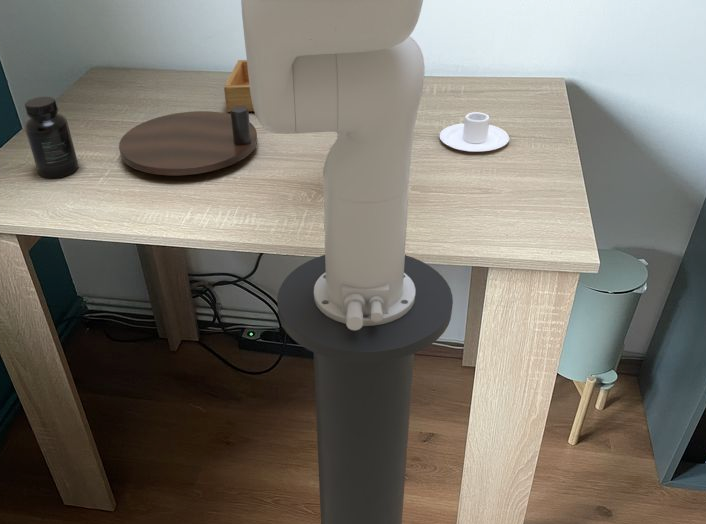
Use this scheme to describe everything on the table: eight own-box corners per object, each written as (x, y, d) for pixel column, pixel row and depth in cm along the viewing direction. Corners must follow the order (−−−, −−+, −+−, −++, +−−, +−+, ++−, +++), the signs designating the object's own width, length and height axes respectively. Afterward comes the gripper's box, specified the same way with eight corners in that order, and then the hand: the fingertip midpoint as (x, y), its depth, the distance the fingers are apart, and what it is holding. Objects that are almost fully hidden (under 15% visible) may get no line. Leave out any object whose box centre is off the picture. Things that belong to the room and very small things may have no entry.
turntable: (249, 174, 118) (245, 133, 113) (104, 176, 119) (95, 136, 115) (263, 116, 136) (260, 78, 132) (137, 118, 138) (130, 81, 133)
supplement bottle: (39, 164, 127) (19, 97, 120) (78, 159, 129) (61, 91, 121) (37, 181, 122) (16, 112, 115) (79, 175, 123) (61, 106, 116)
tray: (226, 113, 142) (223, 84, 138) (240, 85, 153) (238, 57, 150) (384, 114, 138) (385, 84, 135) (386, 85, 150) (387, 57, 146)
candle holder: (461, 160, 122) (464, 136, 119) (427, 134, 131) (428, 110, 128) (522, 147, 125) (526, 122, 122) (484, 122, 134) (487, 98, 131)
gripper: (269, -73, 90) (278, 72, 102) (409, -77, 89) (403, 70, 100) (275, -84, 96) (283, 54, 107) (407, -89, 95) (401, 52, 106)
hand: (341, 61), depth 104 cm, fingers closed on mug, 6 cm apart
